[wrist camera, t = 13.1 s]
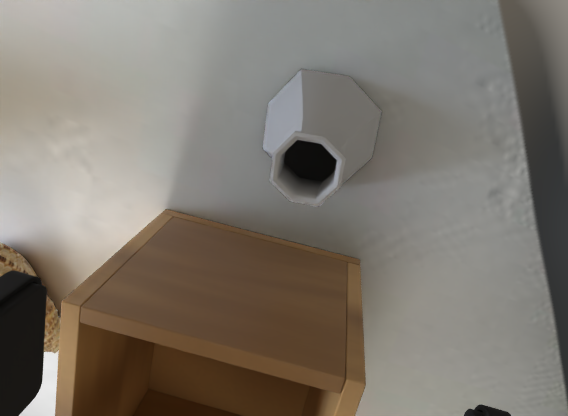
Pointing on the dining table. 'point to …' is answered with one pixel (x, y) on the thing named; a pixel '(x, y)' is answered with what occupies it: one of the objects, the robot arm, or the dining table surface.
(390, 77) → the dining table surface
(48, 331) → the seashell
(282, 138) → the flask
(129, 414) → the chest
